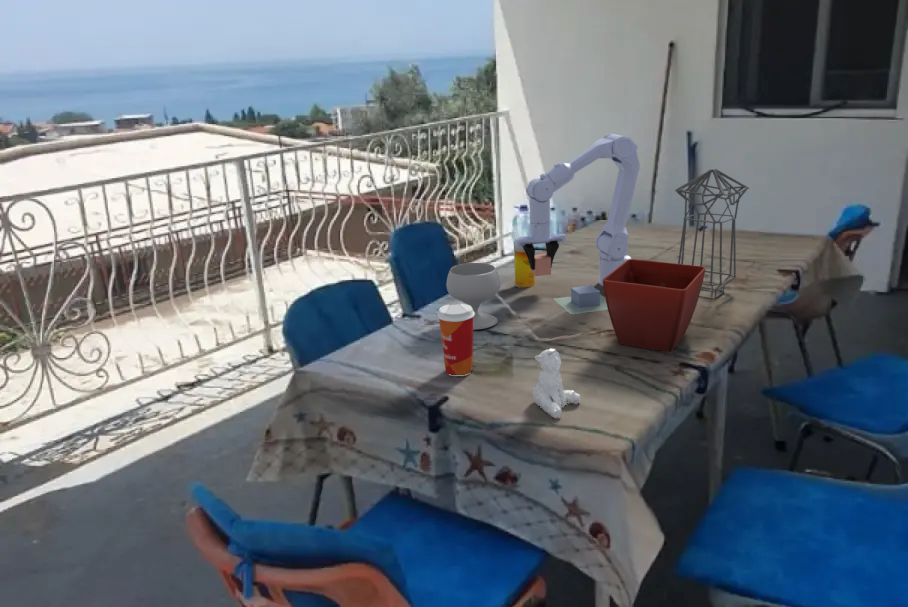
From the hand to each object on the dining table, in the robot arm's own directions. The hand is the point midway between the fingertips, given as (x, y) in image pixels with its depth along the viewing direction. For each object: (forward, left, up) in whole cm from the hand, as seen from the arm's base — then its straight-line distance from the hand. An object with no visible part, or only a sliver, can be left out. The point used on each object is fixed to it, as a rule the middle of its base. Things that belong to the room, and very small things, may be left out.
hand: (540, 267), depth 205 cm
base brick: (-8, +14, -7) cm, 18 cm away
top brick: (0, 0, -2) cm, 2 cm away
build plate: (-8, +14, -8) cm, 18 cm away
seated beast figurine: (+21, +67, -8) cm, 71 cm away
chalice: (+24, +16, -8) cm, 30 cm away
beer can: (+2, -9, -8) cm, 12 cm away
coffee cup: (+35, +45, -8) cm, 58 cm away
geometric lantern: (-44, +15, -8) cm, 47 cm away
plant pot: (-13, +42, -8) cm, 45 cm away
